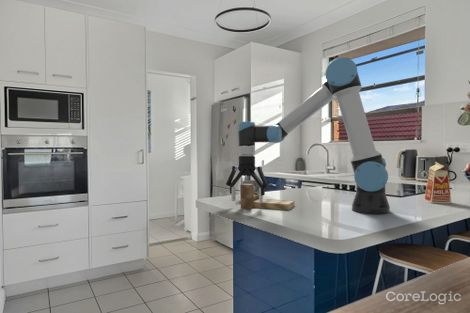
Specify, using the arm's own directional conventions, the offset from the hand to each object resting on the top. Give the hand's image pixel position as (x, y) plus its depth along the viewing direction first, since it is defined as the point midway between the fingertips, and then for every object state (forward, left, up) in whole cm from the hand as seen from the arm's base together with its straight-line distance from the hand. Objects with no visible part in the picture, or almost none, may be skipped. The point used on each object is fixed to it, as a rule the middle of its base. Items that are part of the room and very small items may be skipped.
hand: (247, 201), depth 148 cm
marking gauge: (0, -6, -3) cm, 6 cm away
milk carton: (-82, -51, -3) cm, 97 cm away
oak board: (-8, -8, -3) cm, 12 cm away
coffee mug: (+6, -21, -3) cm, 22 cm away
